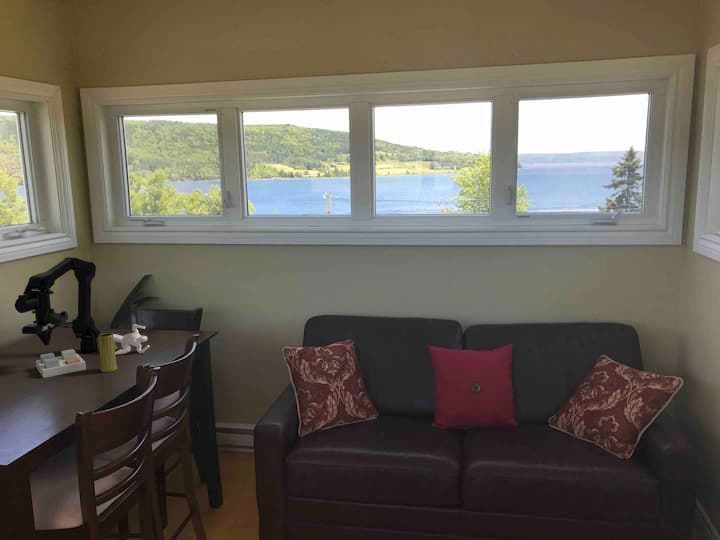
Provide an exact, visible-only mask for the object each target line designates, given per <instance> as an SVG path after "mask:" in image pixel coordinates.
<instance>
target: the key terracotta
mask: <svg viewBox="0 0 720 540" xmlns="http://www.w3.org/2000/svg"><path fill="white" fill-rule="evenodd" d="M65 361H66V364H67V365H68V364H73V363H79V362H80V359H79V358H78V357H76V358H71V359H65Z"/></svg>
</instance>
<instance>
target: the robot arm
mask: <svg viewBox="0 0 720 540" xmlns="http://www.w3.org/2000/svg"><path fill="white" fill-rule="evenodd" d="M70 271H73V274H74V277H75V279H76V281H77V282H78V283H77V285H78V286H77V315H76V318H75V319H73V318H72V321H71V323H72V326H71V329H72V332H73V334H74V336H75V339H79V341H78V348H79V349H78V350H79V352H81V354H89V353H96V352H100V348H99V346H98V339H99V335H101V330H99V329H98V328H97V327H95V326H96V323H95V320H94V318H93V316H92V315H91V310H92V308H91V307H92V301H91V300H92V281H93V280H94V278H95V276H96V271H97V265H96V264H95V263H94V262H93V261H86V260H84V259H83V260H82V259H80V258H78V257H74V256H73V257H70V256H67V257H64V258H63V260H61V261H59V262H58V263H57V264H56V265H54V266H53V267H51V268H50V269H48V270H47V271H43V272H40V273H36V274H33V275H31V276H30V277H29V278H28V282H27V284H26V286H25V288H24V291H23V293H22V294H19V295H18V296H17V299H16V300H15V302H14V308H15V310H16V311H17V312H18V313H20V314H25V313H28V312H31V311H32V312H31V313H32V314H34V316H35V318H34V319H35V320H34V321H33V324H31V323H29V324H27V325H24V326H23V327H22V328H21V334H22V335H36V336H37V337H38V338H39V340H40V341H41V342H42V343H43V345H44V346H46V347H47V346H49V345H50V341H51V337H52V334H53V332H54V331H55V329H57V328H59V327H61V326H63V325H64V326H65V324H66V322H67V321H68V320H69V314H68V312H67V311H66V310H63V311H61V312H55V309H54V308H52V305H51V303H52V302H51V295H53V294H55V293H54V291H52V290H51V289H52V287H53V286H54V285H55V283H56V281H57V280H58V279H59V278H61V277H62V276H64V275H66V273H68V272H70ZM98 348H99V349H98Z"/></svg>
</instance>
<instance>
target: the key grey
mask: <svg viewBox="0 0 720 540" xmlns="http://www.w3.org/2000/svg"><path fill="white" fill-rule="evenodd" d="M57 357H58V356H55V357H54V358H49V359H44V366H45V368H46V369H47V368H53V367H58V366H59V360H58V359H57Z"/></svg>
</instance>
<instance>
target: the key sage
mask: <svg viewBox="0 0 720 540" xmlns="http://www.w3.org/2000/svg"><path fill="white" fill-rule="evenodd" d="M60 353H61V356H62V359H63V360H65V359H71V358H76V350H74V349H73V348H71V349H64V350H62V351H60Z"/></svg>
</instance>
